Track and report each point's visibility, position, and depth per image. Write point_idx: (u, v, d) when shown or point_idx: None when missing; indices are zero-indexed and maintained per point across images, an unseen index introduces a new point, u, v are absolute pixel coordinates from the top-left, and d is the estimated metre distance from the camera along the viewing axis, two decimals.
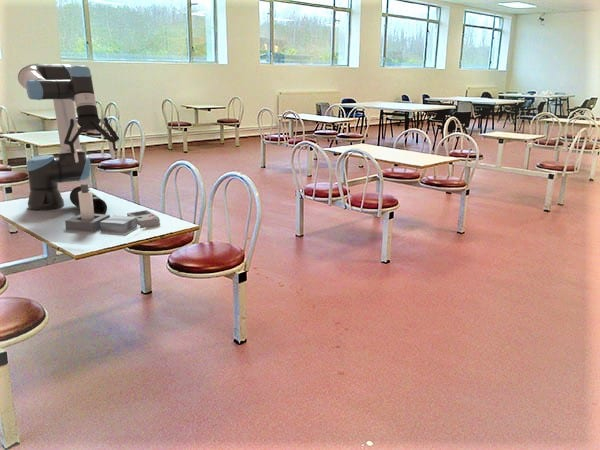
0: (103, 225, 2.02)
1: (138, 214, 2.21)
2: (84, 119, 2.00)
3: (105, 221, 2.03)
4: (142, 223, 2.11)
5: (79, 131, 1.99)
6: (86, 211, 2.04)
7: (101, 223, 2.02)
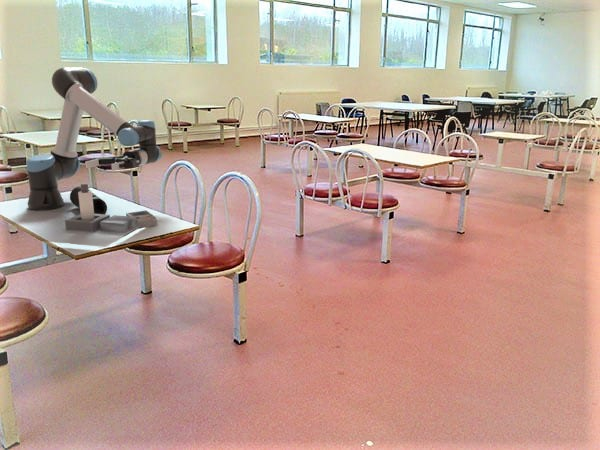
0: (103, 225, 2.02)
1: (137, 214, 2.21)
2: None
3: (105, 221, 2.03)
4: (139, 223, 2.11)
5: None
6: (86, 211, 2.04)
7: (101, 223, 2.02)
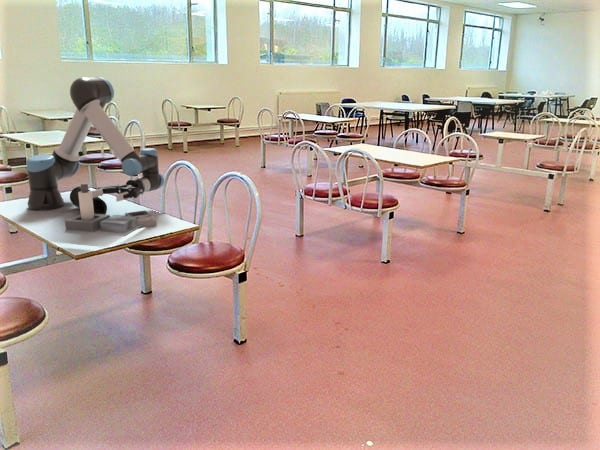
0: (103, 225, 2.02)
1: (136, 214, 2.21)
2: None
3: (105, 221, 2.03)
4: (138, 223, 2.11)
5: None
6: (86, 211, 2.04)
7: (101, 223, 2.02)
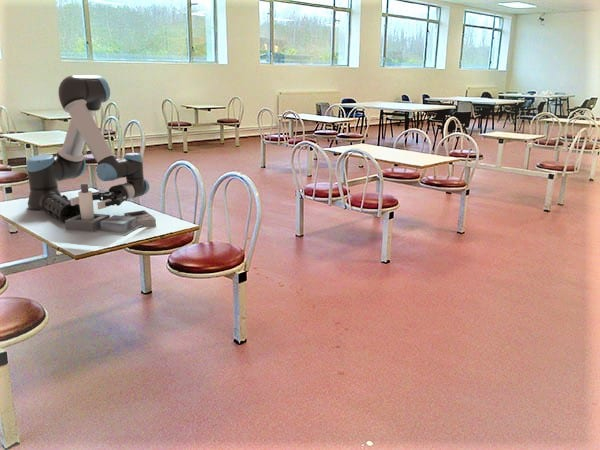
0: (103, 225, 2.02)
1: (135, 214, 2.21)
2: None
3: (105, 221, 2.03)
4: (137, 223, 2.11)
5: None
6: (86, 211, 2.04)
7: (101, 223, 2.02)
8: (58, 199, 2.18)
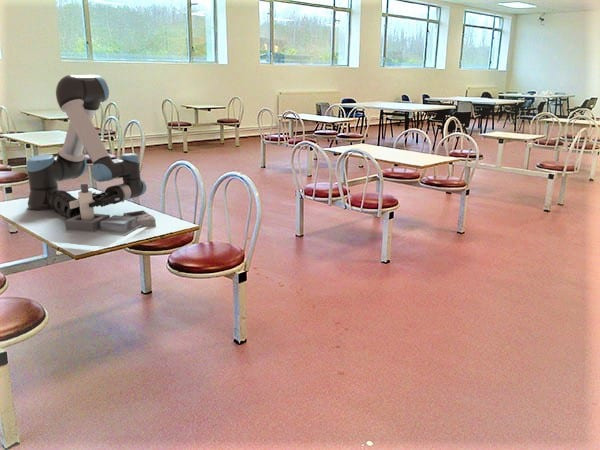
0: (103, 225, 2.02)
1: (134, 214, 2.21)
2: None
3: (105, 221, 2.03)
4: (138, 223, 2.11)
5: None
6: (86, 211, 2.04)
7: (101, 223, 2.02)
8: None
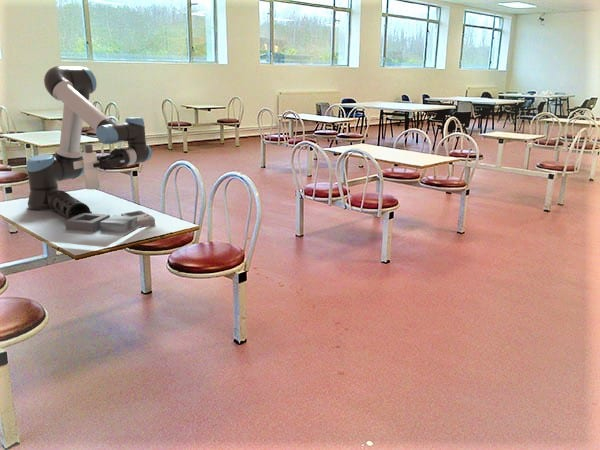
0: (103, 225, 2.02)
1: (132, 214, 2.20)
2: None
3: (105, 221, 2.03)
4: (138, 223, 2.11)
5: None
6: (91, 172, 1.99)
7: (101, 223, 2.02)
8: (74, 198, 2.22)
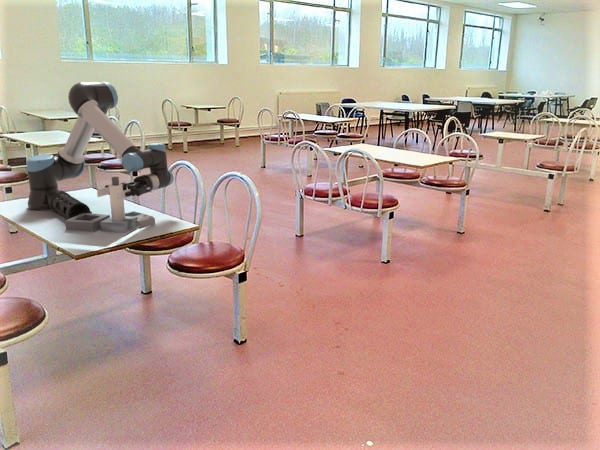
0: (103, 225, 2.02)
1: (129, 215, 2.19)
2: None
3: (105, 221, 2.03)
4: (141, 223, 2.11)
5: None
6: (117, 204, 2.01)
7: (101, 223, 2.02)
8: (74, 198, 2.22)
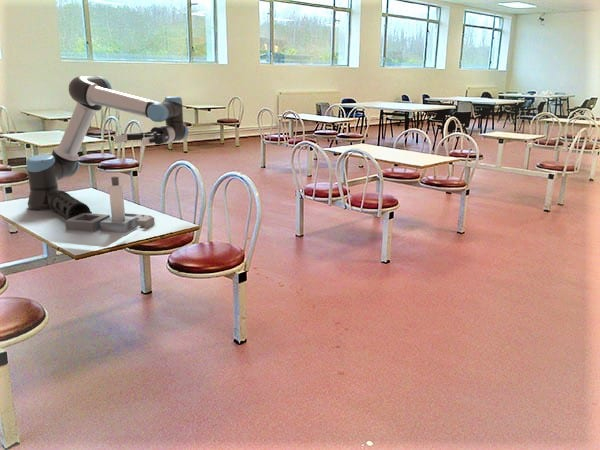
0: (103, 225, 2.02)
1: None
2: None
3: (105, 221, 2.03)
4: (146, 223, 2.11)
5: None
6: (117, 204, 2.01)
7: (101, 223, 2.02)
8: (74, 198, 2.22)
